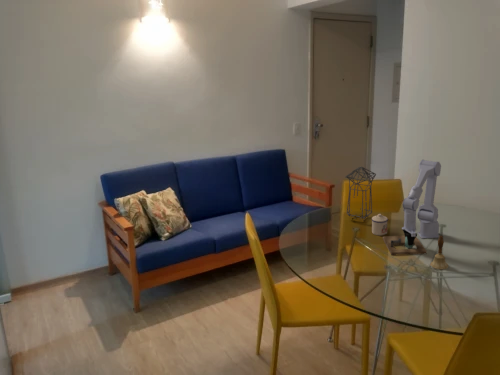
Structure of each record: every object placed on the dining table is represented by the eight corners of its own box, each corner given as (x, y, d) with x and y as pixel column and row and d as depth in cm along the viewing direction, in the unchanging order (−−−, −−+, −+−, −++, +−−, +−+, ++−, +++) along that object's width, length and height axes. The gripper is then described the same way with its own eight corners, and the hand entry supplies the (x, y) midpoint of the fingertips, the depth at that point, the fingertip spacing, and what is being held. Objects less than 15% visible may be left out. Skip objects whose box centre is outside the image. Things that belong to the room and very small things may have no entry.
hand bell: (427, 262, 216) (428, 233, 211) (443, 260, 216) (445, 231, 212) (435, 270, 208) (437, 240, 203) (451, 268, 209) (454, 238, 204)
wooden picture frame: (415, 237, 244) (415, 235, 243) (426, 253, 225) (426, 251, 224) (382, 238, 245) (382, 236, 245) (391, 255, 226) (391, 252, 226)
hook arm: (400, 248, 233) (400, 238, 231) (400, 249, 232) (401, 239, 230) (390, 248, 233) (390, 238, 232) (391, 249, 232) (391, 239, 230)
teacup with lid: (384, 237, 247) (384, 218, 244) (369, 234, 253) (369, 215, 249) (391, 229, 256) (392, 211, 253) (376, 226, 262) (377, 208, 258)
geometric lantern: (352, 213, 285) (353, 162, 274) (375, 217, 276) (377, 165, 265) (342, 221, 273) (343, 168, 262) (366, 226, 264) (368, 171, 253)
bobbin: (404, 244, 234) (404, 236, 232) (411, 244, 233) (411, 236, 232) (406, 248, 230) (406, 239, 228) (413, 247, 229) (414, 239, 228)
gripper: (398, 215, 234) (397, 237, 238) (406, 225, 220) (405, 249, 224) (411, 214, 233) (411, 237, 238) (420, 225, 220) (419, 249, 224)
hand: (409, 243), depth 231 cm, fingers closed on bobbin, 4 cm apart
